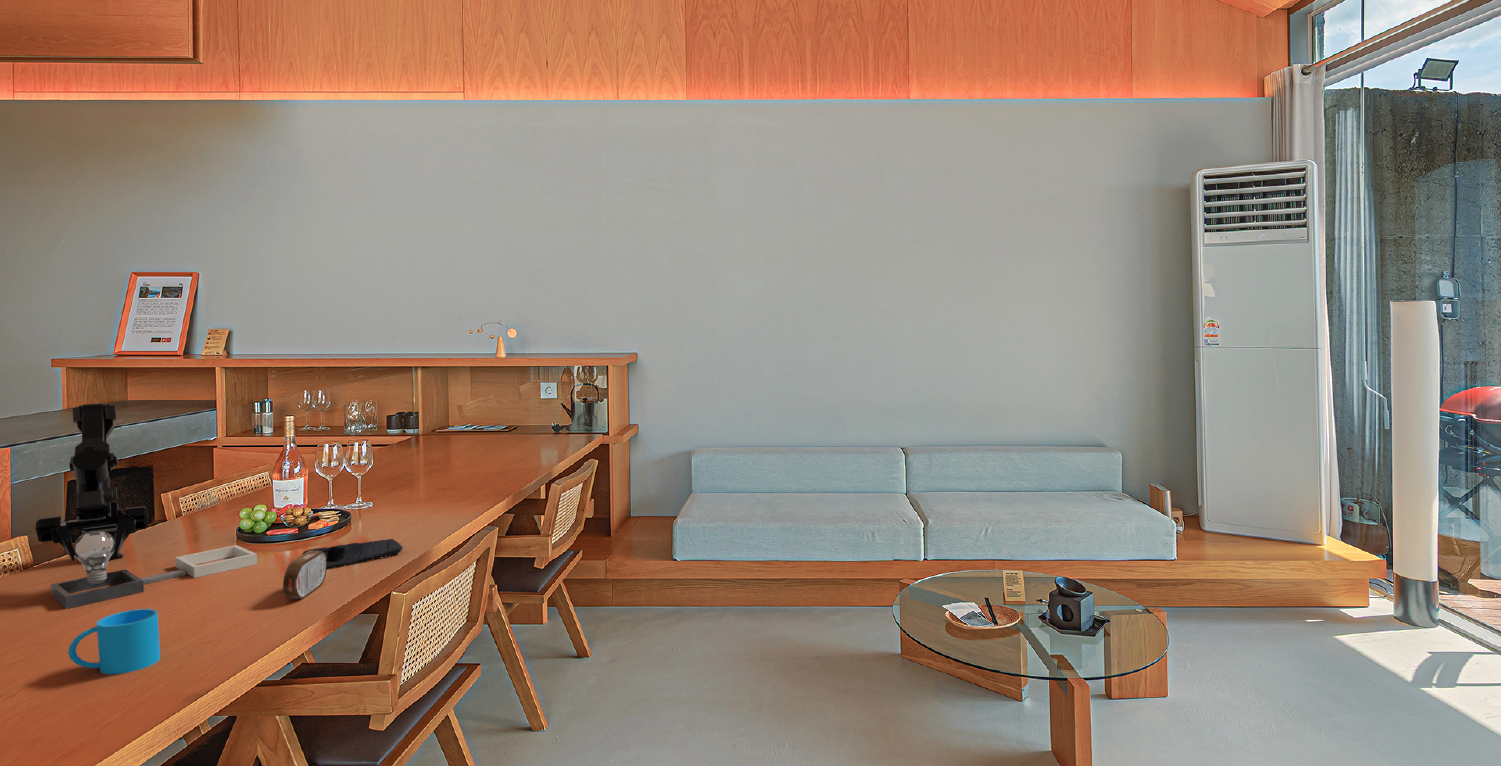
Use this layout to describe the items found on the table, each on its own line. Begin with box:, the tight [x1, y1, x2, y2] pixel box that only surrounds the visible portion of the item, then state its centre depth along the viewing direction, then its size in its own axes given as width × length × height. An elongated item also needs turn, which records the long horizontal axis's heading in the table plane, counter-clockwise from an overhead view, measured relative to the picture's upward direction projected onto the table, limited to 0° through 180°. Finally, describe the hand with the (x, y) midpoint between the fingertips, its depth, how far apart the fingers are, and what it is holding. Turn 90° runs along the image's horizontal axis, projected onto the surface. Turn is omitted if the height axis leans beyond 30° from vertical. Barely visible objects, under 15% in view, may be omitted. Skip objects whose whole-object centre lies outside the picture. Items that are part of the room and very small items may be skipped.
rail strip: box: [139, 569, 187, 585], centre depth 179 cm, size 3×9×1 cm, turn 142°
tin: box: [282, 550, 328, 600], centre depth 169 cm, size 15×3×8 cm, turn 5°
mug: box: [68, 608, 161, 675], centre depth 133 cm, size 12×8×8 cm
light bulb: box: [73, 530, 115, 586], centre depth 169 cm, size 7×7×12 cm
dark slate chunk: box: [301, 538, 403, 570], centre depth 195 cm, size 15×22×5 cm
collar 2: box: [174, 544, 258, 579], centre depth 189 cm, size 13×13×2 cm
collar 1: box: [50, 568, 145, 610], centre depth 169 cm, size 13×13×2 cm
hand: (95, 556), depth 168 cm, fingers closed on light bulb, 7 cm apart
